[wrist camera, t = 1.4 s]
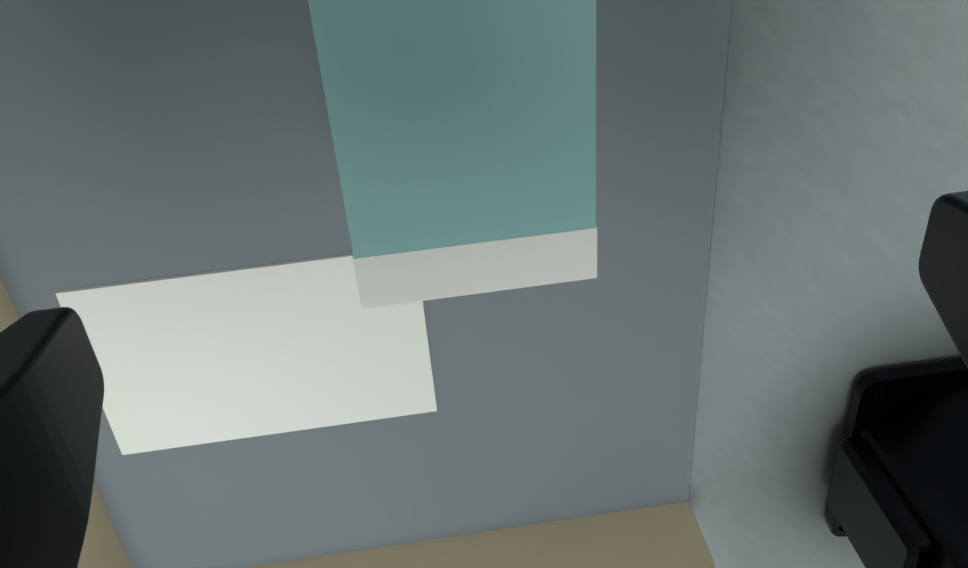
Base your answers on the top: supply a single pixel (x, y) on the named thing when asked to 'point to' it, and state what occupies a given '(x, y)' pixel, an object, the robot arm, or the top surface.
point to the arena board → (351, 304)
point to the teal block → (462, 142)
